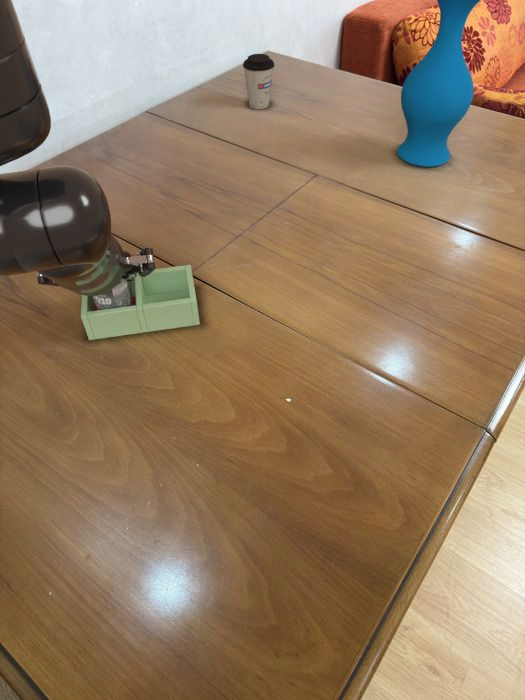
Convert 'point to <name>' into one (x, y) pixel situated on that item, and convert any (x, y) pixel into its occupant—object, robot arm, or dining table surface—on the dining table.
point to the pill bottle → (114, 297)
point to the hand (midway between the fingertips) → (108, 275)
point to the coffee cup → (258, 79)
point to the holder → (146, 305)
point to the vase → (437, 90)
